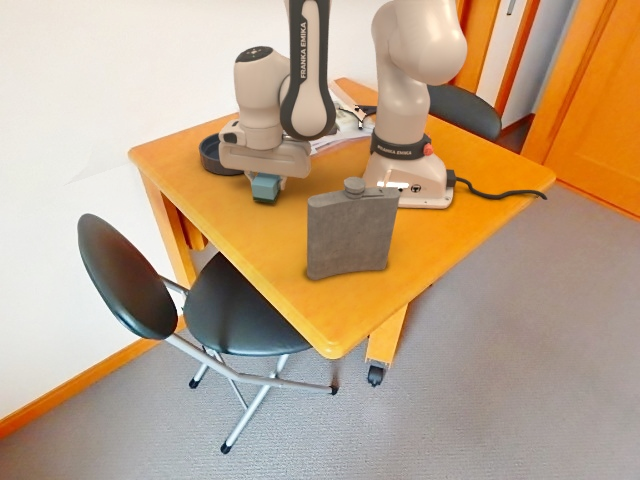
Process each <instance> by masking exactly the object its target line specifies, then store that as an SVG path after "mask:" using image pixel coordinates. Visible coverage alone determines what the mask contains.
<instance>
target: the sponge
mask: <svg viewBox="0 0 640 480" xmlns="http://www.w3.org/2000/svg"><path fill="white" fill-rule="evenodd" d="M255 176H256V177H255V179H254V180H253V182H252V184H251V183H250V187H251V194H252V200H253V201H254V202H255V201H256V202H261V203H269V204H275V202H276V201H277V198H278V196H279V194H280V193H281V191H282V190H278V189H277V183H278V181H279V180H282V179H281V176H280V175H274V174H266V173H259V172H257V174H256V175H255Z"/></svg>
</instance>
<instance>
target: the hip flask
mask: <svg viewBox="0 0 640 480" xmlns="http://www.w3.org/2000/svg"><path fill="white" fill-rule="evenodd" d="M365 186H366V182H365V181H364V180H363V179H362V177H360V176H348V177H347V178H344V180H343V188H344V189H341V190H335V191H329V192H324V193H320V194H319V193H318V194H315V195H311V196H310V197H308V199H307V204H306V205H307V209H306V211H307V216H306V217H307V220H306V224H307V225H306V276H307V277H308V278H309V279H310V280H313V281H319V280H322V279H325V278H328V277H332V276H336V275H342V274H348V273H355V272H356V273H357V272H364V271H383V270H385V269H386V268H387V263H388V258H389V254H390V247H391V244H392V239H393V238H392V237H393V234H394V233H393V232H394V228H395V223H396V218H397V213H398V208H399V207H398V204H399V199H400V191H399V190H397V189H396V188H392V187H371V188H365Z"/></svg>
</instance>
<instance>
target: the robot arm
mask: <svg viewBox="0 0 640 480" xmlns="http://www.w3.org/2000/svg"><path fill="white" fill-rule="evenodd" d="M283 3H284V8H285V12H286V16H287V17H286V18H287V24H288V31H289V32H288V33H289V34H288V35H289V36H288V37H289V39H288V40H289V57H287V56H285V55H283V54H281V53H280V52H278V51H277V50H275V48H273V47H271V46H266V45H257V46H253V47H250V48H247V49H245V50H243V51H242V52H240V53H239V54H238V56H236V58H235V60H234V63H233V87H234V94H235V101H236V104H237V106H238V109H239V114H238V118H234V119H230V120H229V121H228V122H227V123H226V124H225V125H224V126H223V127H222V128H221V129H220V131H219V132H220V133H219V132H218V133H219V139H220V141H221V142H220V144H219V158H220V163H221V164H222V165H223V166H224V167H225V168H229V169H237V170H244V173H243V174H244V175H245V177H246V178H247V179H248V180H249V182H250V185H251V184H252V182H253V180H254V179H255V177H256V176H257V175H255V173H258V172H259V173H266V174H274V175H280V176H281V179H282V180H279V181H278V183H277V189H278V190H281V191H284V190H285V188H286V181H287V180H288V178H297V179H306V178H307V177H308V176H309V175H310V173H311V170H312V160H311V154H312V143H311V142H314V141H317V140H320V139H322V138H323V137H325V136H327V135H328V134H329V133H330V132H331V131H332V129H333V128H334V126H335V124H336V121H337V110H336V109H337V108H336V106H335V103H334V100H333V99H332V96H331V92H330V89H329V84H328V66H329V64H328V63H329V38H330V37H329V36H330V35H329V32H330V17H331V12H332V11H331V10H332V5H333V0H283ZM370 34H371V38H372V41H373V45H374V50H375V51H374V52H375V64H376V78H377V103H376V106H377V112H375V119H374V120H375V122H374V123H375V124H374V127H373V128H372V131H371V134H370V139H369V140H370V141H369V158H368V161H367V164H366V168H365V169H364V172H363V175H362V176H361V178H362V179H363V180H364V181H365V182H366V186H365V188H371V187H392V188H396V189H397V190H399V191H400V199H399V204H398V208H408V209H410V208H411V209H442V210H443V209H447V208H448V207H450V205H451V203H452V202H453V198H454V188H455V187H456V184H457V182H459V183H462V184H466V185H467V188H468V190H469V191H470V192H471V193H473V194H475V195H477V196H478V197H482V198H486V199H495V200H497V199H498V200H499V199H503V198H505V197H507V196H510V195H524V194H530V195H536V196H538V197H540V198H541V199H542V200H543V201H544V200H545V201H547V200H548V197H547V196H546V194H544V193H543V192H542V191H539V190H535V189H514V190H507V191H505V192H503V193H500V194H490V193H484V192H482V191H479V190H477V189H475V188H474V187H473V184H472V182H470V181H469V180H467V179H466V178H463V177H459V176H456V172H455V170H454V169H449V168H446V165H445V163H444V161H443V160H442V159H441V158H440V157H439V156H438V155H436V154H435V153H434V146H433V145H432V138H431V135H430V132H427V134H426V133H425V130H426V125H427V122H428V117H429V112H430V107H431V97H430V93H429V90H428V86H442V85H445V84H446V83H448V82H450V81H451V80H453V79H454V78H455V77H456V76H457V75H458V74H459V73H460V71H461V69H462V68H463V67H464V64H465V62H466V59H467V55H468V42H467V39H466V37H465V35H464V33H463V31H462V28H461V25H460V22H459V17H458V10H457V5H456V0H390V1H387V2H384V3H383V4H382V5H381V6H380V7H379V8H378V9H377V11H376V12H375V13H374V16H373V18H372V21H371V24H370ZM284 132H285V133H286V134H285V133H284Z"/></svg>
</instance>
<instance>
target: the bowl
mask: <svg viewBox="0 0 640 480" xmlns="http://www.w3.org/2000/svg"><path fill="white" fill-rule="evenodd" d="M219 133H220V131H218V132H215V133H213V134H210V135H208V136H206V137H205V138H202V140H201V142H199V144H198V152H199V158H200V162H201V165H202V167H203V168H204V169H205V170H207V171H208V172H211V173H213V174H217V175H221V176H222V175H223V176H235V175H240V174H244V170H237V169H229V168H225V167H224V166H223V165H222V164H221V163H220V158H219V144H220V142H221V141H220V139H219Z"/></svg>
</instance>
